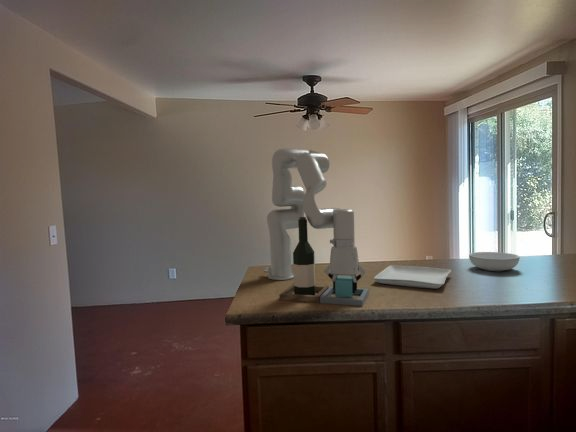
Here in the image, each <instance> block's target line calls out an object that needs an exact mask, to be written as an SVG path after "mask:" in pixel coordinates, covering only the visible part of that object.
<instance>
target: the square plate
mask: <svg viewBox="0 0 576 432" xmlns="http://www.w3.org/2000/svg"><path fill="white" fill-rule="evenodd" d="M451 272H452V269H450V268H449V269H448V268H437V267H429V266H416V265H414V266H413V265H388V266H387V267H386V268H384V269H383V270H382V271H380V272H378V273H377V274H376V275H375V276H374V277H372V278H373V280H374V281H375V282H377V283H379V284H383V285H392V286H399V287H401V286H402V287H411V288H419V289H439V288H440V287H442V286H443V285H444V284H445V282H446V279H447V277H448V275H449V274H450V273H451Z"/></svg>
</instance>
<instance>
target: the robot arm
mask: <svg viewBox="0 0 576 432" xmlns="http://www.w3.org/2000/svg"><path fill="white" fill-rule="evenodd" d="M329 168H330V160H329V158H328V156H327V155H326V154H325V153H324V152H319V151H315V150H312V149H307V148H306V149H305V148H290V147H289V148H288V147H285V148H280V149H277V150H276V151H274V153H273V155H272V157H271V169H272V188H271V189H272V190H271V202H272V204H273V206H275V207H278V208H279V209H278V208H277V209H276V208H275V209H272V210H271V211H269V212H268V213H267V217H266V223H267V228H268V232H269V246H270V247H269V252H270V253H269V254H270V267H263V269H262V270H263V272H264V273H268V275H267V278H268V279H269V280H273V281H286V280H292V279H294V272H292V250H291V246H292V245H291V244H292V243H291V237H290V234H289V233H288V232H287V230H292V229H293V230H294V229H299V226H298V219H299V217H306V219H307V223H309V225H310V226H311V227H312V228H313V229H315V230H324V229H333V231H332V232H333V239H330V240H329V244H332V245H333V246H331V248H330V255H329V256H330V257H329V264H328V265H327V267H326V268H325V269H323V272H324V273H325V274H326V275H327V276H328V277H329V279H330V280H331V281H332V287H333V289H335V279H336V278H337V277H338V276H350V277H352V279H353V283H352V289H353V293H355V291H357V288H358V281H359V280H360V279H361V278H363V276H365V275H366V273H367V272H366V270H365V269H364V268H363V267H362V265H360V260H359V254H358V253H359V252H358V248H357V246H356V245H355V244H356V243H355V213H354V212H355V211H353V209H350V208H342V209H341V208H339V207H331V208H330V207H328V208H325V207H324V208H319V207H318V205H317V203H316V198H315V196H316V195H317V194H319V193H321V192H322V191H324V190H325V188H326V187H327V179H325V176H324V173H327V172H328V171H329ZM290 169H297V171H298V173H299V176H300V178H301V180H302V184H303V187H305V190H304V189H303V187H302V186H300V185H292V183H293V176H292V172H291V170H290ZM280 207H283V208H280ZM284 207H290V208H284ZM359 272H360V273H359ZM358 273H359V274H358Z"/></svg>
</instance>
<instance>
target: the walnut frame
mask: <svg viewBox="0 0 576 432" xmlns="http://www.w3.org/2000/svg"><path fill="white" fill-rule="evenodd" d="M329 287H330V286H327V285H315V293H317V292H318V293H317V294H315V296H313V295H299V294H294V283H293V284H291V285H290V286H288V287H287V288H285V290H283V291H281V292H280V293H279V300H280V299H281V300H282V301H291V300H293V301H292V302H295V301H296V302H304V301H305V302H306V303H317V304H319V303H320V297H321V296H322V295H323V293H324V292H325V291H326V290H327V289H328V288H329ZM281 300H280V301H281Z"/></svg>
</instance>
